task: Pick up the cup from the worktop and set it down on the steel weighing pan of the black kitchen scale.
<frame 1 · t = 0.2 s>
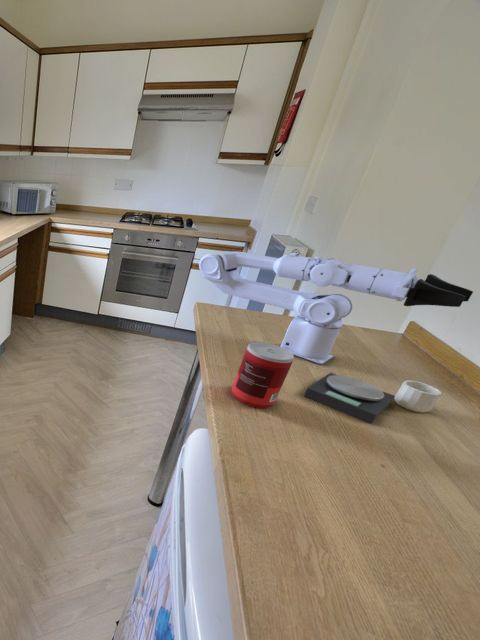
hand: (466, 299, 81), 21 cm above the countertop, tool horizontal, fingers open, 7 cm apart
scale pan: (354, 387, 84), point 3 cm above the countertop, slide at 0.0 cm
cup: (410, 405, 84), on the countertop
scale: (346, 400, 85), on the countertop
canned food: (251, 398, 84), on the countertop
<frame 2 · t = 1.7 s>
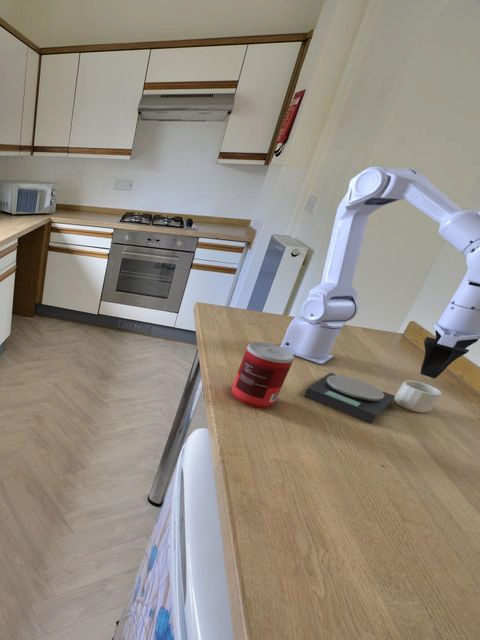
hand: (432, 371, 80), 8 cm above the countertop, tool pointing down, fingers open, 7 cm apart
nothing on the countertop moved.
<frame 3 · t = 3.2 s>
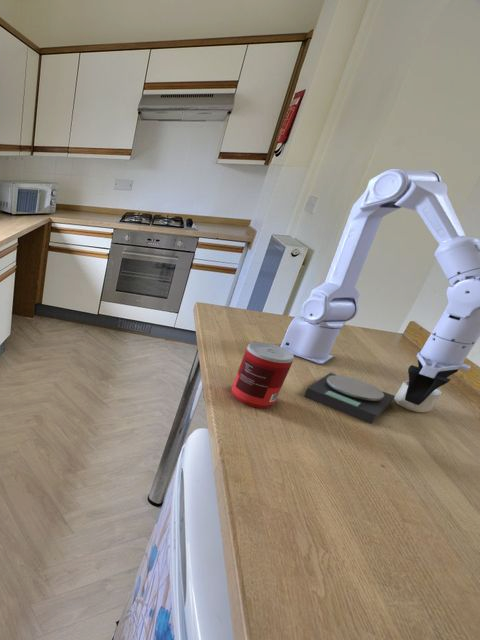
hand: (415, 398, 83), 2 cm above the countertop, tool pointing down, fingers closed on cup, 5 cm apart
cup: (410, 405, 84), on the countertop, touching gripper
everything else where it was.
when the fingers open (5 cm above the countertop, at t = 7.0 s): cup stays where it is, resting on scale pan.
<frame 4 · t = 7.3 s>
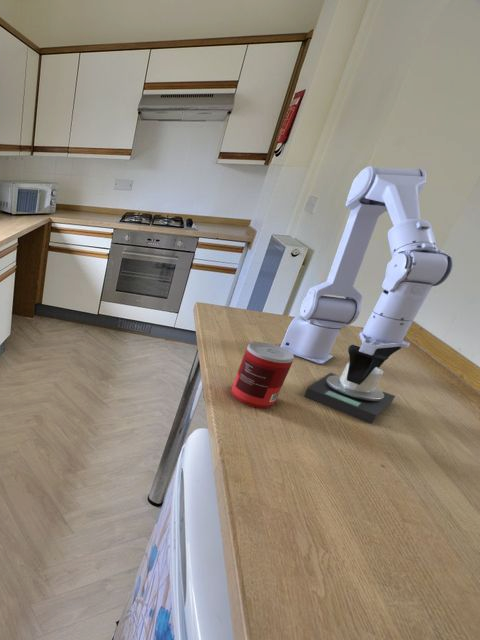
hand: (359, 377, 83), 5 cm above the countertop, tool pointing down, fingers open, 7 cm apart
scale pan: (354, 387, 84), point 3 cm above the countertop, slide at 0.0 cm, touching cup
cup: (355, 386, 84), point 3 cm above the countertop, touching scale pan
everything else where it was.
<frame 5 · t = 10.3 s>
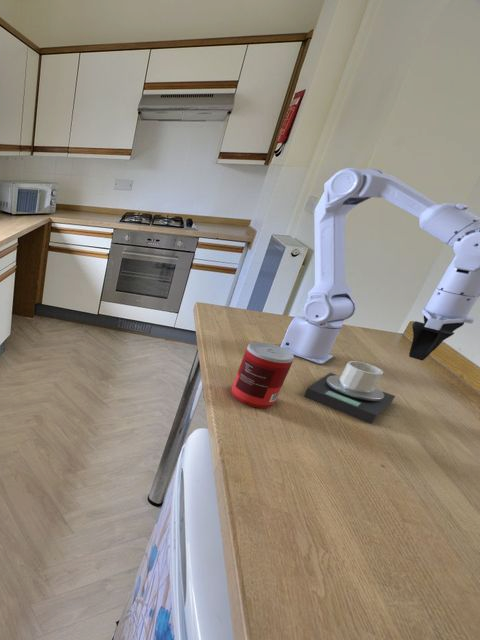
hand: (420, 354, 85), 9 cm above the countertop, tool pointing down, fingers open, 7 cm apart
nothing on the countertop moved.
at the end: cup 0.0 cm off-centre on the scale, point 3.1 cm above the scale's base; cup tilted 0°; the gripper is holding nothing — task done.
